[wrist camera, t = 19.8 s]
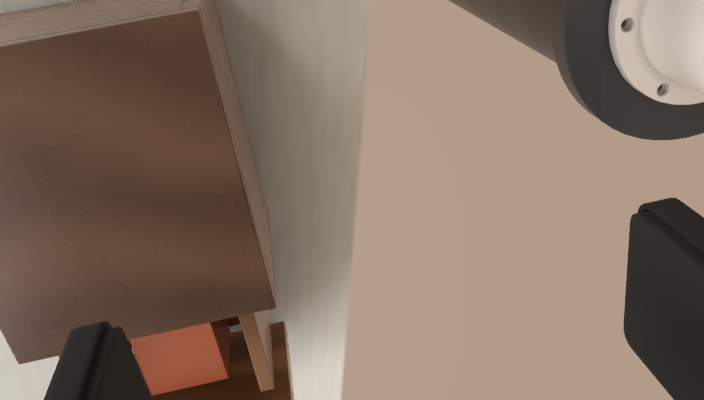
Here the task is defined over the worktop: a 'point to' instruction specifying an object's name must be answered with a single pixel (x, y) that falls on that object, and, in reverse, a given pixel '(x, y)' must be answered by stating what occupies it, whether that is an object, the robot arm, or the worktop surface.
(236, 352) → the drawer
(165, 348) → the block
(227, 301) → the cabinet
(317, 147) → the worktop surface
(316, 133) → the worktop surface
